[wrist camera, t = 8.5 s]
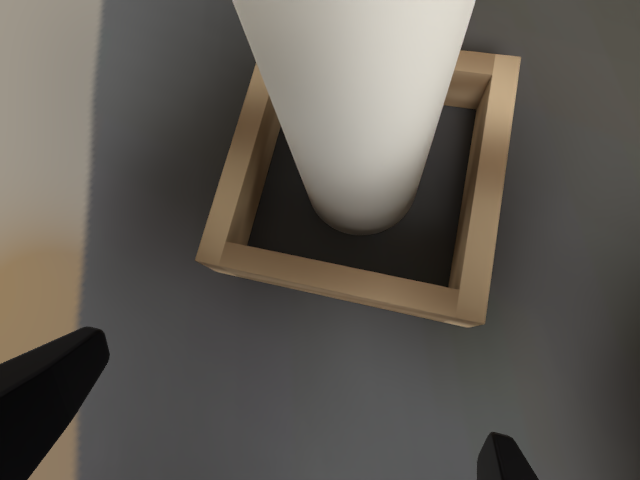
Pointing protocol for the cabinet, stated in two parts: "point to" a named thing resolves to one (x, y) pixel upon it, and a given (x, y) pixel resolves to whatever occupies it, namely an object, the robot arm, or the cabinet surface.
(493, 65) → the oak holder
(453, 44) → the paper roll
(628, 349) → the cabinet surface
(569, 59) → the cabinet surface
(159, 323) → the cabinet surface
